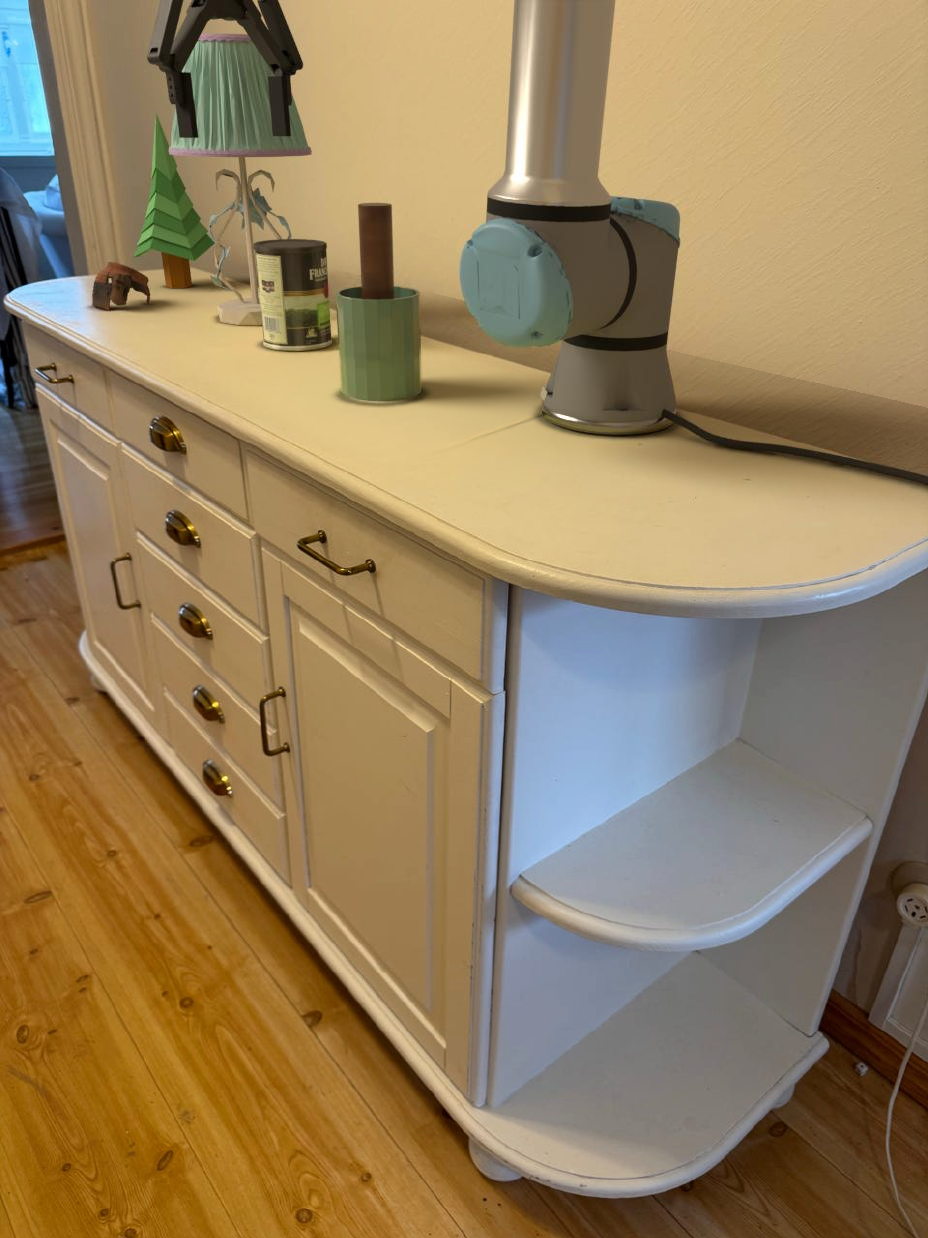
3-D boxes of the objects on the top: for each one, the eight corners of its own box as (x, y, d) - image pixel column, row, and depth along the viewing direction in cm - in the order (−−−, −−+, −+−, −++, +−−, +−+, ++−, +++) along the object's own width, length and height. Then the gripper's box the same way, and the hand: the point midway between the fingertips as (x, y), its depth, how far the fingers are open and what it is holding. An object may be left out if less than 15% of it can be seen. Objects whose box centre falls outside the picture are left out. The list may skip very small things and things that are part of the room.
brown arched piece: (86, 306, 165) (99, 261, 164) (139, 327, 169) (153, 284, 169) (89, 299, 154) (104, 251, 154) (146, 322, 158) (161, 275, 158)
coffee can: (341, 338, 142) (336, 239, 135) (319, 353, 133) (312, 248, 126) (278, 334, 144) (269, 237, 137) (251, 349, 135) (241, 245, 128)
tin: (437, 393, 115) (436, 292, 109) (381, 409, 108) (377, 303, 103) (381, 379, 120) (378, 282, 115) (325, 394, 114) (318, 292, 108)
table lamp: (336, 308, 163) (321, 41, 144) (300, 333, 144) (278, 30, 125) (219, 303, 166) (189, 41, 146) (168, 328, 147) (126, 30, 128)
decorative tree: (219, 290, 177) (199, 112, 163) (134, 293, 174) (106, 111, 160) (220, 279, 189) (201, 112, 174) (140, 281, 186) (114, 111, 171)
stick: (403, 389, 114) (398, 204, 104) (381, 395, 112) (374, 206, 102) (381, 384, 117) (375, 201, 106) (359, 389, 114) (350, 203, 104)
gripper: (282, -63, 112) (297, 135, 122) (91, -94, 96) (127, 137, 106) (323, -70, 108) (335, 135, 118) (131, -104, 91) (164, 138, 101)
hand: (237, 137), depth 112 cm, fingers open, 13 cm apart
